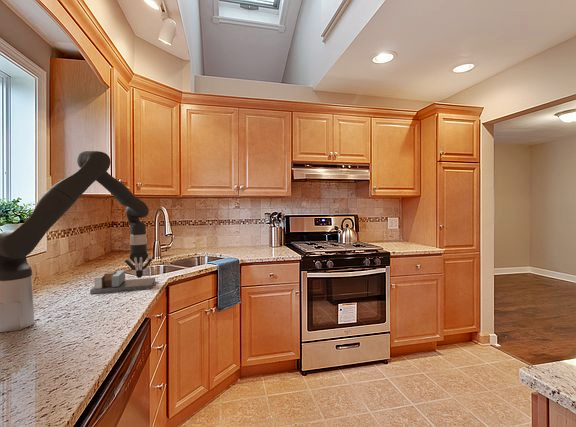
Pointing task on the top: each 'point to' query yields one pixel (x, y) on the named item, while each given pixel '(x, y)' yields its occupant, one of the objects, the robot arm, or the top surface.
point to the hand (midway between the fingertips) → (139, 277)
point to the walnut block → (108, 278)
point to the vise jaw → (118, 278)
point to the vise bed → (125, 286)
